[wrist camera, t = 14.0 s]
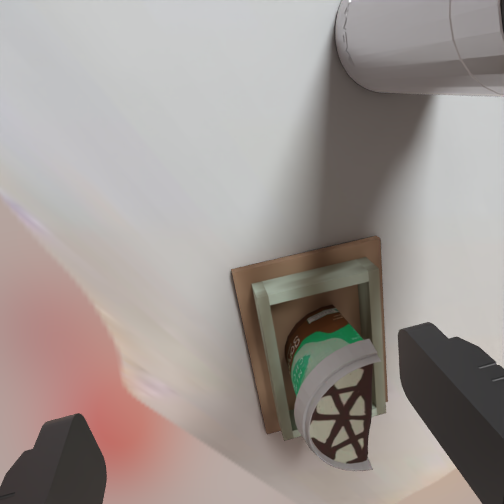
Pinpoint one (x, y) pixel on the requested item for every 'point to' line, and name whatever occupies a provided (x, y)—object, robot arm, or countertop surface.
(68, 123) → the countertop surface
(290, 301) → the holder
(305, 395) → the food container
